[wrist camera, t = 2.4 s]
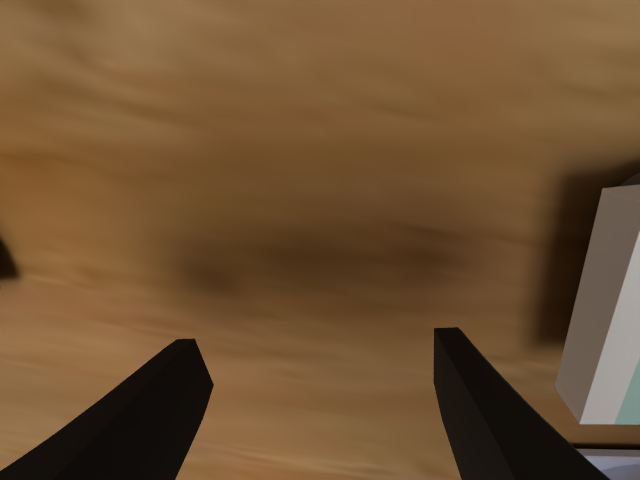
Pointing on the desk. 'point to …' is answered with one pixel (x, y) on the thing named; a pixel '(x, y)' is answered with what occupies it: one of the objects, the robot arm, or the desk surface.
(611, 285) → the mint green block
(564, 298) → the desk surface
